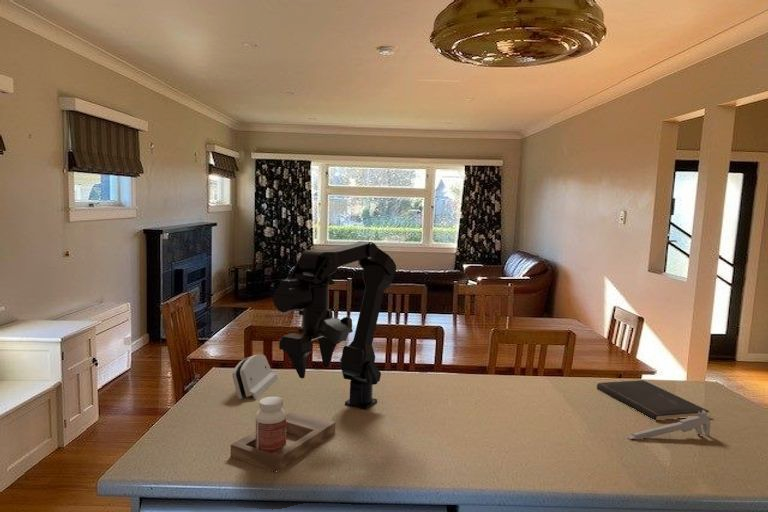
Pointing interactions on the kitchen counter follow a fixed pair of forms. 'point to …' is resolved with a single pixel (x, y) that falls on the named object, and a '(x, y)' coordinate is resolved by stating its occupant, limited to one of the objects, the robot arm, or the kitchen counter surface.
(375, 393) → the kitchen counter surface
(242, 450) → the wooden rectangular frame
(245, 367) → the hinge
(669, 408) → the hardcover book
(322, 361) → the robot arm
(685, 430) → the caliper
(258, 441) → the pill bottle
